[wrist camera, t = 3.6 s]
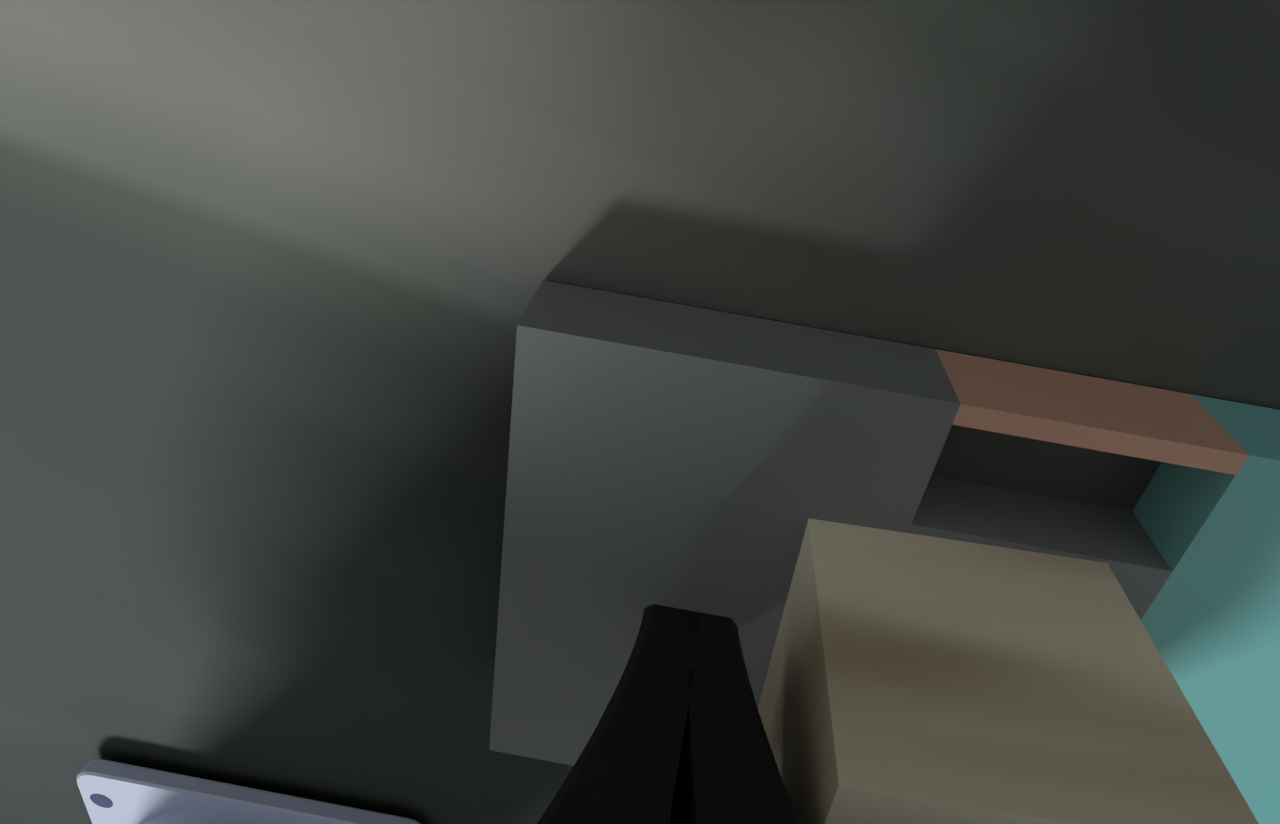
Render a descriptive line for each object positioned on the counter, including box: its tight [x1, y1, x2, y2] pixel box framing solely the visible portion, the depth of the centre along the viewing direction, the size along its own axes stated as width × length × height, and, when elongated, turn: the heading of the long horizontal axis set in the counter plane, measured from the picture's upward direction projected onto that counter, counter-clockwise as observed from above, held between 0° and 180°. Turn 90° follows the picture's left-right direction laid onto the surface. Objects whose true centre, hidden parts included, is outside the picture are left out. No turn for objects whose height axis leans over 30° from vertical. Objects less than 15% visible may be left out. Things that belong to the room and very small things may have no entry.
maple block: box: [758, 518, 1259, 824], centre depth 10 cm, size 4×4×4 cm
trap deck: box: [489, 280, 1280, 824], centre depth 12 cm, size 14×8×4 cm, turn 82°
